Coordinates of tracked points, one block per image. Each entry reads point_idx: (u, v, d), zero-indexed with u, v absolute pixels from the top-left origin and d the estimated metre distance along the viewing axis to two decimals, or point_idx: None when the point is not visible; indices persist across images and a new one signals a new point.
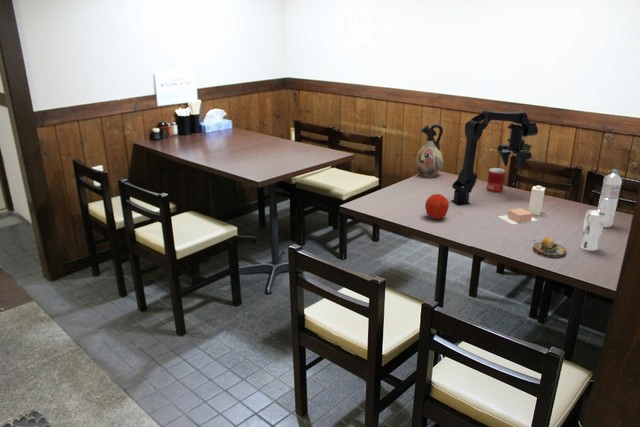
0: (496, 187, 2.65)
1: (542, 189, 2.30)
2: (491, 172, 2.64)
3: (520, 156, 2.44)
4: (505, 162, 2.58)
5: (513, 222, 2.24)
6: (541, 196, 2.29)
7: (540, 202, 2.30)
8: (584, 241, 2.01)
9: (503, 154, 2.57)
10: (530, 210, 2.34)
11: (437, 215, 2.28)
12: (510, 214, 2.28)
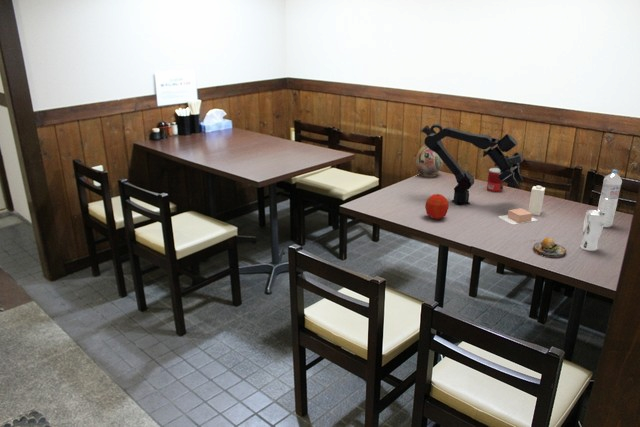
0: (496, 187, 2.65)
1: (542, 189, 2.30)
2: (491, 172, 2.64)
3: None
4: (518, 180, 2.39)
5: (513, 222, 2.24)
6: (541, 196, 2.29)
7: (540, 202, 2.30)
8: (584, 241, 2.01)
9: None
10: (530, 210, 2.34)
11: (437, 215, 2.28)
12: (510, 214, 2.28)
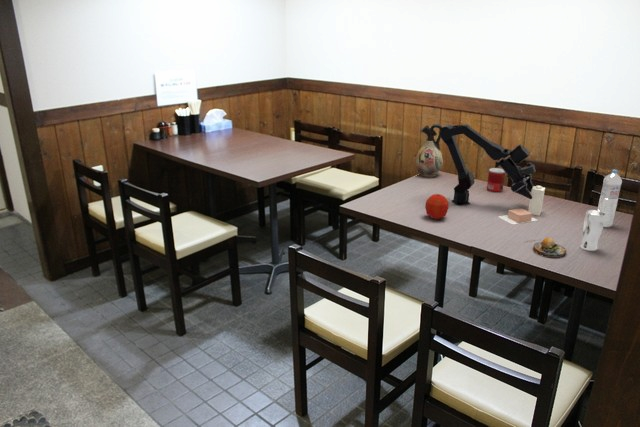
0: (496, 187, 2.65)
1: (542, 189, 2.30)
2: (491, 172, 2.64)
3: None
4: (531, 190, 2.38)
5: (513, 222, 2.24)
6: (541, 196, 2.29)
7: (540, 202, 2.30)
8: (584, 241, 2.01)
9: None
10: (530, 210, 2.34)
11: (437, 215, 2.28)
12: (510, 214, 2.28)
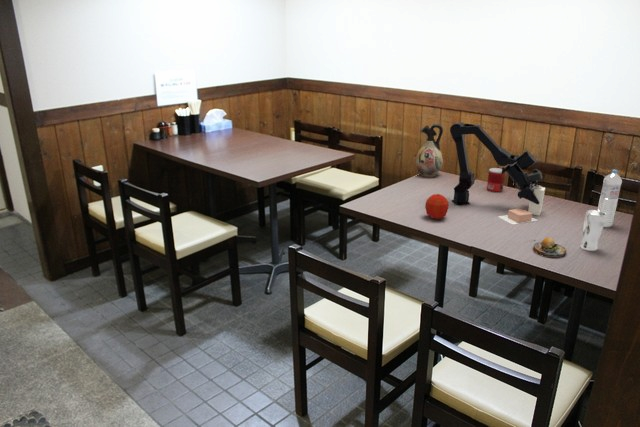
0: (496, 187, 2.65)
1: (542, 189, 2.30)
2: (491, 172, 2.64)
3: None
4: None
5: (513, 222, 2.24)
6: (541, 196, 2.29)
7: (540, 202, 2.30)
8: (584, 241, 2.01)
9: None
10: (530, 210, 2.34)
11: (437, 215, 2.28)
12: (510, 214, 2.28)
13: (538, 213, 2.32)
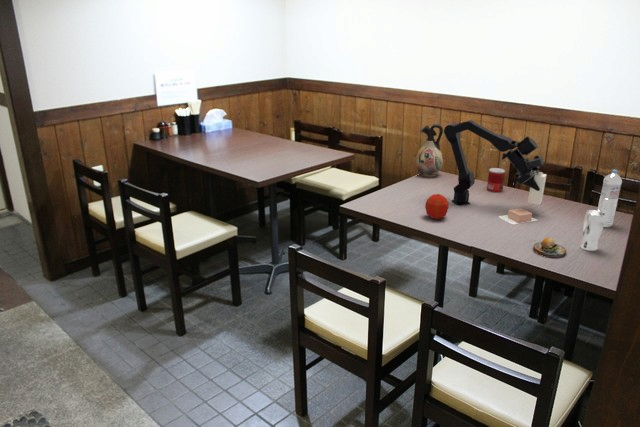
0: (496, 187, 2.65)
1: (543, 175, 2.26)
2: (491, 172, 2.64)
3: None
4: None
5: (513, 222, 2.24)
6: (542, 182, 2.26)
7: (540, 189, 2.27)
8: (584, 241, 2.01)
9: None
10: (530, 197, 2.30)
11: (437, 215, 2.28)
12: (510, 214, 2.28)
13: (538, 200, 2.29)
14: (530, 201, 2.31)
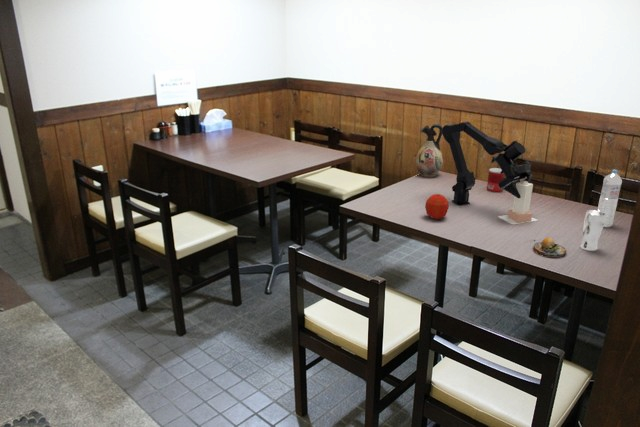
0: (496, 187, 2.65)
1: (527, 185, 2.20)
2: (491, 172, 2.64)
3: None
4: None
5: (513, 222, 2.24)
6: (524, 192, 2.20)
7: (523, 198, 2.21)
8: (584, 241, 2.01)
9: None
10: (514, 205, 2.26)
11: (437, 215, 2.28)
12: (510, 214, 2.28)
13: (521, 209, 2.23)
14: (514, 210, 2.26)
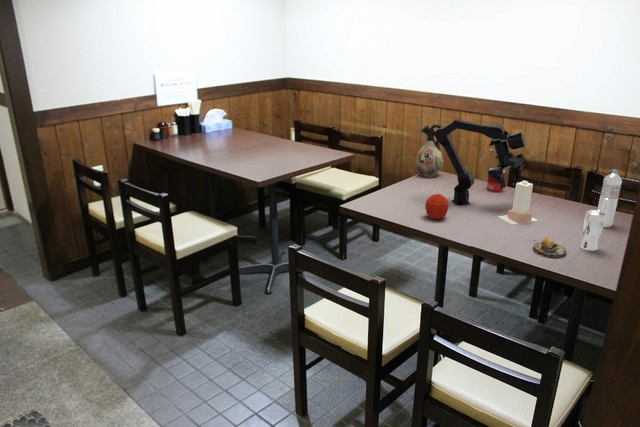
0: (496, 187, 2.65)
1: (527, 185, 2.20)
2: None
3: None
4: (517, 177, 2.38)
5: (513, 222, 2.24)
6: (524, 192, 2.20)
7: (523, 198, 2.21)
8: (584, 241, 2.01)
9: (513, 168, 2.39)
10: (514, 205, 2.26)
11: (437, 215, 2.28)
12: (510, 214, 2.28)
13: (521, 209, 2.23)
14: (514, 210, 2.26)
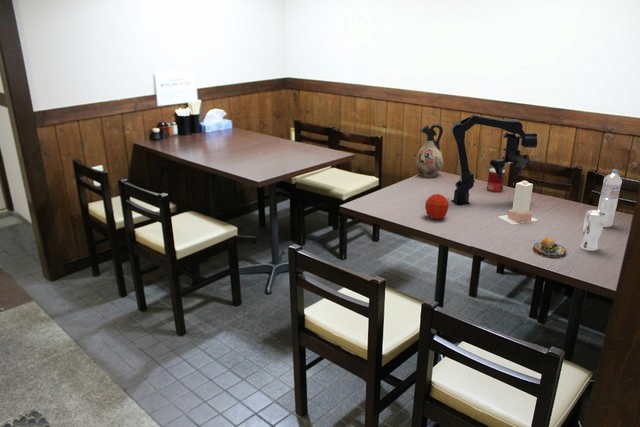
0: (496, 187, 2.65)
1: (527, 185, 2.20)
2: (491, 172, 2.64)
3: None
4: (515, 174, 2.45)
5: (513, 222, 2.24)
6: (524, 192, 2.20)
7: (523, 198, 2.21)
8: (584, 241, 2.01)
9: (515, 164, 2.45)
10: (514, 205, 2.26)
11: (437, 215, 2.28)
12: (510, 214, 2.28)
13: (521, 209, 2.23)
14: (514, 210, 2.26)
